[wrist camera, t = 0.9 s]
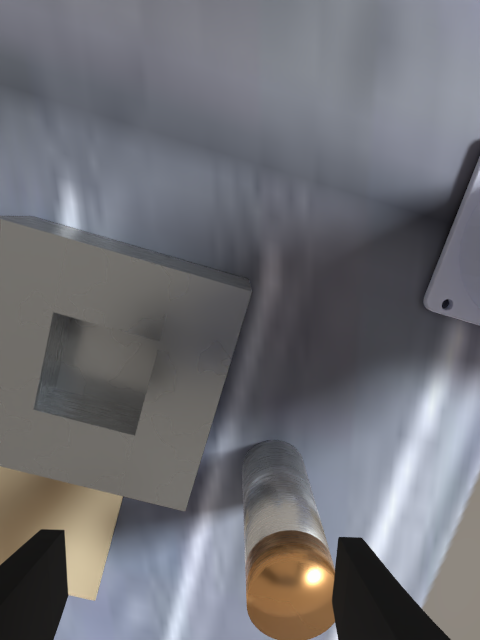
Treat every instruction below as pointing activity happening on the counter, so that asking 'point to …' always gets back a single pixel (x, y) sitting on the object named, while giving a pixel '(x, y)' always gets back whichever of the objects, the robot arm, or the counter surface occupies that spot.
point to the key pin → (284, 546)
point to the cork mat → (59, 523)
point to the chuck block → (110, 360)
